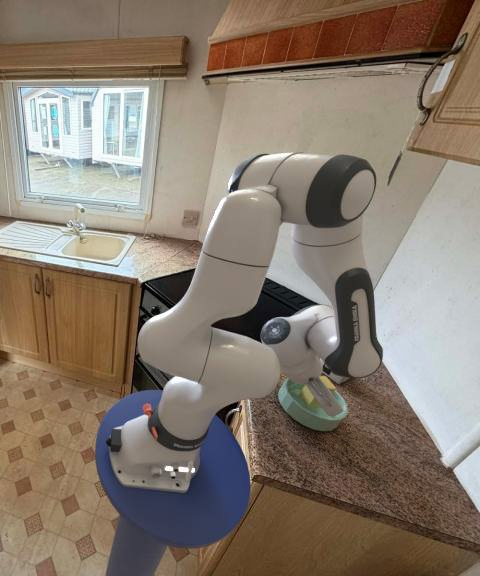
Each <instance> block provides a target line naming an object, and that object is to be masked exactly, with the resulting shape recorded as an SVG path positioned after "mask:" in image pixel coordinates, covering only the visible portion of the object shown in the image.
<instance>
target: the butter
mask: <svg viewBox="0 0 480 576" xmlns="http://www.w3.org/2000/svg"><path fill="white" fill-rule="evenodd" d="M319 378H320V379H321V380H322V381H323V383H324V384H325V385H326V386H327V388H328V389H329V390H330V392H331V393H332V394H333V392H334V391H335V390H336V391H337V388H336V387H335V385H334V384H333V383H332V381H331V380H330V378H329V377H328V376H327V375H320V377H319ZM299 395H300V397H301V398H302V400H303V401H304V403H305V404H306V406H307V407H314V408H322V407H321V405H320V404H319V403H318V401H317V400H316V399H315V397H314V396H313V395H312V393H311V392H310V391H309V389H308V388H307V386H306V385H305V386H304V388H303V389H302V391H301V392H300V394H299Z"/></svg>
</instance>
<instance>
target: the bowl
mask: <svg viewBox="0 0 480 576" xmlns="http://www.w3.org/2000/svg"><path fill="white" fill-rule="evenodd" d="M304 386H305V384H299V383H295V382H293V381H291V380H289V379H288V378H287V377H286V378H285V380H284V381H283V383H282V384H281V386H280V388H279V390H278V391H277V393H278V394H277V399H278V402H279V404H280V406H281V407H282V408H283V410H284V411H285V412H286V413H287V414H288V415H289V416H290V417H291V418H292V419H293V420H295V421H296V422H298V423H299V424H301V426H304V427H307V428H309V429H312V430H313V431H320V432H332V431H334V430H335V429H337V428H338V427H339V426H340V425H341V423H342V422H343V421H344V419H345V418H346V417H347V415H348V413H349V409H348V404H347V402H346V401H345V399H344V397H343V396H342V395H341V394H340V393H339V392H338V391H337V389H336V390H335V391H334V392H333V395H334V397H335V398H336V399H337V401H338V402H339V404H340V405H341V406H342V408H343V410H344V411H343V412H342V413H340V414H338V415H336V416H332V417H330V416H328V415H327V413H326V412H325V411H324V409H323V408H314V407H307V406H306V404H305V403H304V401H303V400H302V398H301V397H300V395H299V394H300V392H301V391H302V389H303V388H304Z"/></svg>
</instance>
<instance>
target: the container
mask: <svg viewBox="0 0 480 576" xmlns="http://www.w3.org/2000/svg"><path fill="white" fill-rule="evenodd" d="M319 360H320V361H321V363H322V366H323V370H322V373H321V374H324V376H326V377H327V378H328V379H330V380H332V381H333V382H335V383H336V384H337V385H340V384H341V383H344V382H346V381H347V380H350V379H351V378H346V377H341V376H337V375H335V374H333V373H332V372H331V370H330V369H329V368H328V367H327V365H326V364H325V363H324V361H323V360H322V359H321V358H319Z"/></svg>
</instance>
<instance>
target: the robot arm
mask: <svg viewBox="0 0 480 576" xmlns="http://www.w3.org/2000/svg"><path fill="white" fill-rule="evenodd" d="M376 188H377V174H376V171H375V170H374V168H373V166H372V165H371V164H370V162H369V161H368V160H367V159H364V158H362V157H358V156H354V155H350V154H345V153H344V154H337V155H332V154H323V153H308V152H307V153H306V152H303V151H289V152H279V153H271V154H269V153H261V154H256V155H252V156H249V157H247V158H245V159H243V160H242V161H241V162H240V163H239V164H238V165H237V167H236V168H235V169H234V170H233V173H232V174H231V176H230V179H229V181H228V185H227V194H226V195H225V196H224V197H223V198H222V199H221V200H220V202H219V204H218V206H217V207H216V209H215V212H214V214H213V217H212V219H211V221H210V222H209V223H210V224H209V226H208V229H207V230H206V233H205V237H204V240H203V243H202V246H201V250H200V253H199V258H198V261H197V264H196V268H195V270H194V274H193V276H192V280H191V282H190V285H189V287H188V289H187V291H186V292H185V293H184V296H183V297H182V298H181V299H180V300H179V301H178V302H177V303H176V304H175V305H174V306H173V307H171V308H170V309H168V310H167V311H165V312H162V313H160V314H157V315H154V316H152V317H151V318H149V319H148V320H147V321H146V322H145V323H144V324H143V325H142V327H141V328H140V331H139V333H138V337H137V349H138V353H139V357H140V358H141V360H142V362H144V363H146V364H148V365H149V366H151V367H153V368H155V369H157V370H158V371H161V372H162V373H165V374H168V375H171V376H173V377H172V378H171V379H169V380H168V381H167V382H166V384H165V385H164V387H163V390H162V391H163V394H162V397H161V401H160V402H159V403H158V405H157V406H156V407H155V408H154V409H153V410H152V409H151V405H150V404H145V405H143V410H144V415H142V416H140V417H137V418H135V419H133V420H130V421H128V422H126V423H125V424H124V425H123V426H121V427H117V428H114V429H112V430H111V435H110V438H108V439H107V440H106V444H107V445H108V446H109V455H110V461H111V465H112V469H113V471H114V474H115V476H116V478H117V479H118V481H119V482H120V483H121V485H123V486H125V487H133V488H142V489H151V490H160V491H169V492H178V493H186V492H187V491H188V488H189V484H190V480H191V479H192V478H193V476H194V475H195V474H196V473H197V471H198V469H199V465H200V448H201V446H202V445H203V443H204V441H205V439H206V437H207V434H208V431H209V424H210V422H211V420H212V419H213V417H214V415H217V413H218V412H219V411H220V410H221V409H223V408H225V407H228V406H229V405H231V404H234V403H237V402H242V401H247V400H258V399H263V398H266V397H267V396H268V395H270V394H271V393H272V392H273V391H274V390H275V389H276V387H277V386H278V384H279V381H280V379H281V372H282V373H283V375H284V376H285V377H286V378H288V379H289V380H291V381H293V382H295V383H299V384H305V385H306V386H307V388H308V389H309V391H310V392H311V393H312V395H313V396H314V397H315V399H316V400H317V401H318V403H319V404H320V405H321V407H322V408H323V409H324V411H325V412H326V413H327V415H328V416H330V417H332V416H336V415H338V414H340V413H342V412H343V411H344V410H343V408H342V406H341V405H340V404H339V402H338V401H337V399H336V398H335V397H334V395H333V394H332V393H331V392H330V390H329V389H328V388H327V386H326V385H325V384H324V383H323V381H322V380H321V379H320V378H319V377H320V376H322V374H323V373H322V370H323V366H322V363H321V361H320V359H322V360H323V361H324V363H325V364H326V365H327V367H328V368H329V369H330V370H331V372H332V373H333V374H335V375H337V376H341V377H346V378H350V379H364V378H367V377H369V376H371V375H374V373H376V372H377V371H378V370H379V369H380V367H381V365H382V362H383V359H384V348H383V347H382V345H381V343H380V341H379V340H378V335H377V322H376V321H377V320H376V303H375V302H376V301H375V292H374V285H373V281H372V278H371V276H370V273H369V270H368V266H367V264H366V259H365V254H364V247H363V225H364V213H365V211H366V210H367V209H368V207H369V205H370V204H371V202H372V200H373V197H374V195H375V192H376ZM284 223H285V224H290V235H291V236H290V242H291V243H290V244H291V250H292V254H293V256H294V260H295V262H296V264H297V266H298V267H299V269H300V270H301V271H302V272H303V273H304V274H305V275H306V276H307V277H309V279H310V280H311V281H312V282H313V283H314V284H315V285H316V287H318V288H319V289H320V290H321V291H322V292H323V294H324V296H325V297H326V298H327V299H328V301H329V303H330V305H331V306H330V305H328V304H311V305H309V306H306V307H303V308H301V309H300V310H298V311H296V312H295V313H294V314H292V315H291V316H286V317H285V316H279V317H274V318H271V319H270V320H268V321H266V323H265V324H264V325H263V326H262V328H261V330H260V331H261V332H260V341H261V342H260V341H257V340H255V339H253V338H251V337H249V336H246V335H242V334H239V333H235V332H230V331H227V330H224V329H220V328H216V327H213V326H212V325H213V324H215V323H216V322H219V321H220V320H224V319H228V318H236V317H240V316H242V315H244V314H247V313H248V312H250V311H251V310H252V309H253V308H254V307H255V306H257V304H258V300H259V298H260V296H261V292H262V290H263V286H264V283H265V280H266V278H267V274H268V272H269V270H270V266H271V263H272V261H273V257H274V254H275V250H276V246H277V243H278V237H279V232H280V228H281V226H282V225H283V224H284ZM118 471H120V472H121V473H120V474H119V473H118ZM143 482H144V483H143ZM176 484H177V485H179V487H177V486H176Z"/></svg>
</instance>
